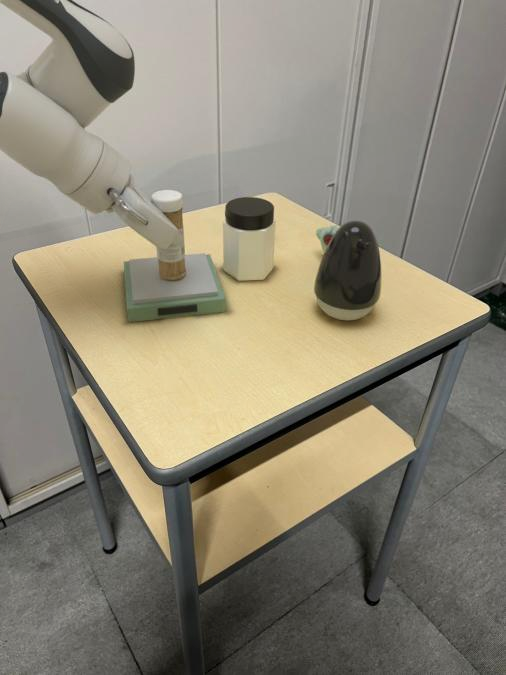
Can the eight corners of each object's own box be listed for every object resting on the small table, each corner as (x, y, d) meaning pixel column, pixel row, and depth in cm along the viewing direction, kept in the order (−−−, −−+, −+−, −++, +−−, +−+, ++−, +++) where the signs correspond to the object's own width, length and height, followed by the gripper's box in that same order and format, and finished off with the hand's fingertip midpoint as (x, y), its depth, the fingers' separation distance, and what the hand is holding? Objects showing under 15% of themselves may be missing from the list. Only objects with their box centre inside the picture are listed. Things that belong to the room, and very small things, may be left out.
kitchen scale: (128, 323, 78) (126, 305, 76) (125, 274, 90) (122, 257, 88) (226, 312, 81) (226, 295, 79) (210, 266, 93) (209, 249, 91)
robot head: (355, 261, 96) (360, 227, 92) (345, 270, 93) (350, 235, 89) (317, 249, 100) (321, 216, 96) (306, 257, 97) (310, 223, 93)
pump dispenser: (321, 332, 78) (333, 240, 69) (304, 296, 86) (313, 209, 77) (386, 327, 79) (406, 236, 70) (363, 292, 87) (378, 206, 78)
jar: (237, 254, 97) (238, 192, 90) (278, 263, 95) (282, 200, 88) (216, 276, 90) (215, 211, 83) (259, 286, 88) (262, 220, 81)
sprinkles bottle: (165, 266, 86) (159, 187, 78) (191, 270, 85) (187, 191, 77) (153, 278, 83) (145, 197, 75) (179, 283, 82) (174, 201, 74)
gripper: (137, 185, 63) (213, 244, 72) (95, 141, 77) (163, 195, 87) (105, 226, 63) (185, 279, 73) (71, 175, 78) (140, 225, 88)
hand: (173, 233), depth 80 cm, fingers closed on sprinkles bottle, 4 cm apart
